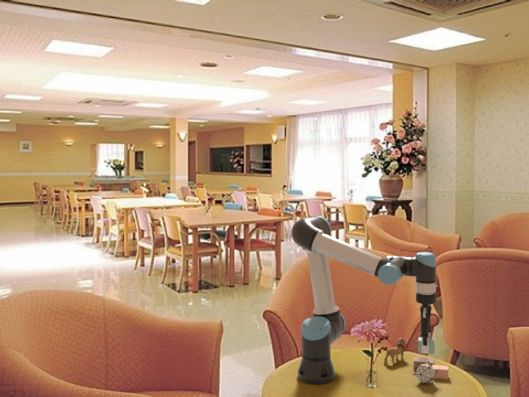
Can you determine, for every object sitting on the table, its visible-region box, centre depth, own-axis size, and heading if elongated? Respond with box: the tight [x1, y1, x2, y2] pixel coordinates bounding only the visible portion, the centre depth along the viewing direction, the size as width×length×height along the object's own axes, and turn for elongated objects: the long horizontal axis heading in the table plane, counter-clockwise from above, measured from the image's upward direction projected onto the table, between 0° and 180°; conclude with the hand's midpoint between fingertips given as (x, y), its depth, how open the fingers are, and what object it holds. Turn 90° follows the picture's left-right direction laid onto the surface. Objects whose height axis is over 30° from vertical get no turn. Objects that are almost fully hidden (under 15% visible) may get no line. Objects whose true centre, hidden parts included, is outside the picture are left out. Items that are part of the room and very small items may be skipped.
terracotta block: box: [432, 364, 449, 380], centre depth 214 cm, size 6×4×4 cm, turn 75°
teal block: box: [417, 336, 436, 355], centre depth 207 cm, size 6×4×5 cm, turn 68°
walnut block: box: [413, 356, 435, 371], centre depth 222 cm, size 8×5×4 cm, turn 68°
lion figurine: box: [383, 337, 407, 366], centre depth 230 cm, size 15×5×9 cm, turn 138°
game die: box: [412, 361, 438, 386], centre depth 208 cm, size 9×8×10 cm
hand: (425, 350), depth 207 cm, fingers closed on teal block, 4 cm apart
